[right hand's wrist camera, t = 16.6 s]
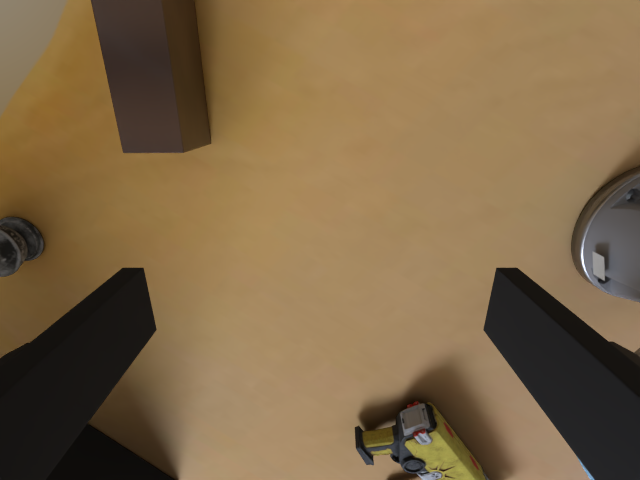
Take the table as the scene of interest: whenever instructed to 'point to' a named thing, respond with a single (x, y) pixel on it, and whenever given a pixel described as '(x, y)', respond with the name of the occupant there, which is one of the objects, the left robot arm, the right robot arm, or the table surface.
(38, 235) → the grey tall turned piece
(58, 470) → the cardboard box
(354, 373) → the table surface
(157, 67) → the plank
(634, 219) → the right robot arm
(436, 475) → the toy gun
